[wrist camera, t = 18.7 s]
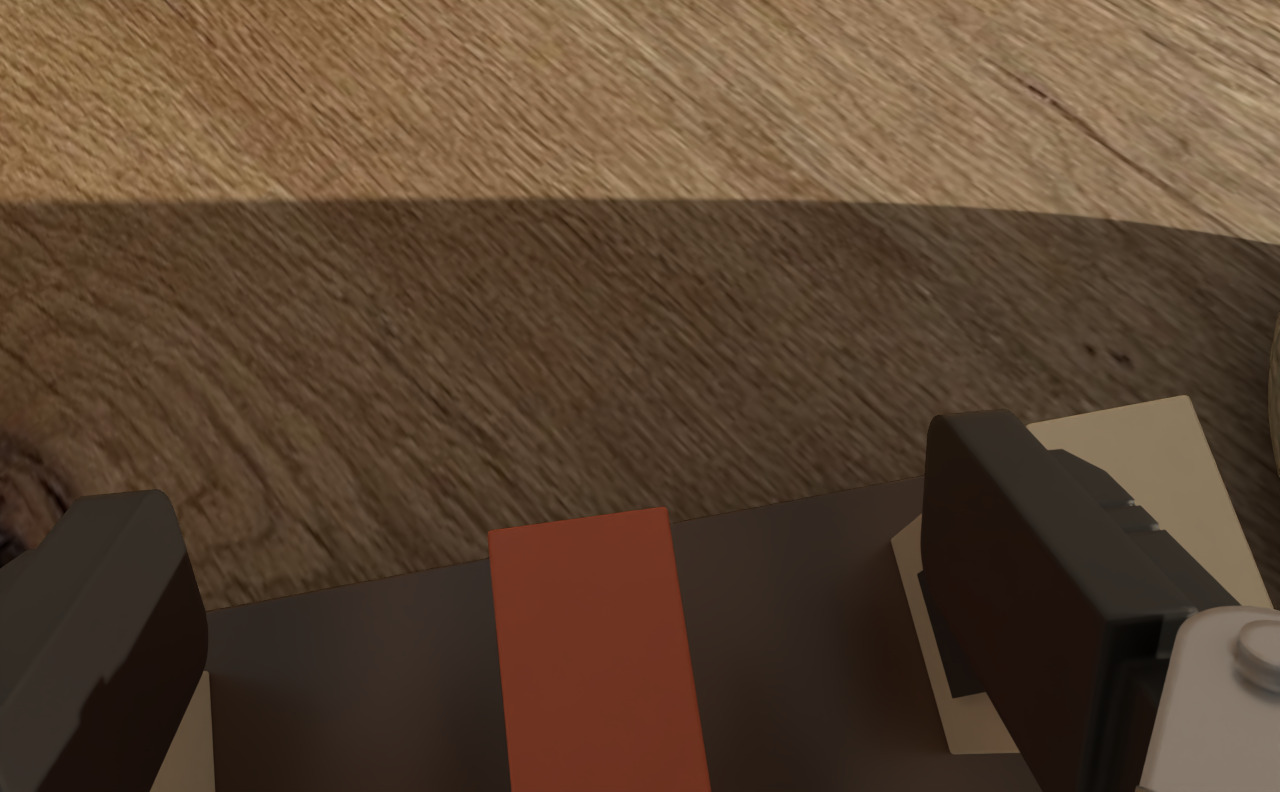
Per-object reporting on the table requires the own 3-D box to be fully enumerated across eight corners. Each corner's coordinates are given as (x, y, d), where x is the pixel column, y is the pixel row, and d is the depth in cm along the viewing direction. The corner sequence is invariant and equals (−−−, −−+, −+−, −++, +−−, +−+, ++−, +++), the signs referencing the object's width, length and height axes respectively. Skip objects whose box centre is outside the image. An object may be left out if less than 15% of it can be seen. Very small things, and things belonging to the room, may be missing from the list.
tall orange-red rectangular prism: (550, 843, 20) (504, 892, 12) (525, 612, 21) (471, 531, 14) (686, 821, 20) (721, 857, 13) (653, 594, 22) (666, 504, 14)
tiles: (78, 939, 19) (-273, 1053, 12) (75, 696, 21) (-237, 659, 13) (1067, 730, 21) (1317, 712, 13) (999, 517, 22) (1190, 392, 15)
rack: (-79, 1040, 20) (-121, 1057, 19) (-65, 673, 22) (-102, 668, 21) (1097, 785, 22) (1123, 787, 20) (995, 471, 24) (1014, 457, 23)
